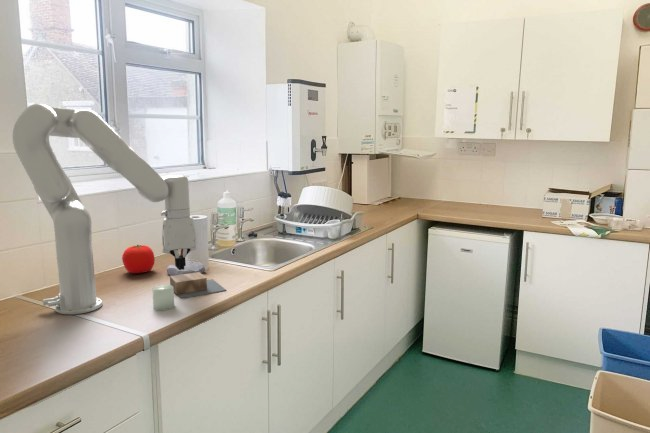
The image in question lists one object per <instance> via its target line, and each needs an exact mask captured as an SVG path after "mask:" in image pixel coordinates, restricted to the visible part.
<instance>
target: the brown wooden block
mask: <svg viewBox="0 0 650 433" xmlns="http://www.w3.org/2000/svg"><path fill="white" fill-rule="evenodd" d="M207 280H208V278H207V276H205V275H204V274H203V273H200V272H196V273H189V274H182V275H175V276H170V275H169V285H171V286H173V289H174V294H176V295H177V294H183V293H189V292H195V291H201V290H207Z"/></svg>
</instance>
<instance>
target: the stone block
mask: <svg viewBox="0 0 650 433" xmlns="http://www.w3.org/2000/svg"><path fill="white" fill-rule="evenodd" d="M186 260H187V259H185V263H186V266H184V270H182V269H181V270H179V269H177V267H176V266H175V264H169V265H168V266H167V267H166V273H167V275H168V276H169V277H170V276H175V275H182V274H189V273H196V272H200V273H201V274H203V273H205V272H206V271H205V270H206V267H205V265H204V264H203V263H202V262H200V261H199V262H194V261H186Z"/></svg>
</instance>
